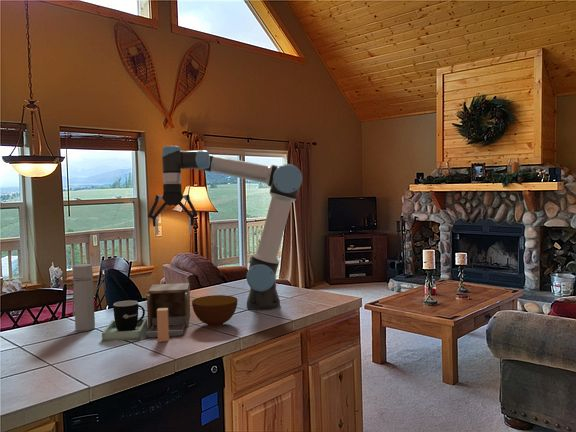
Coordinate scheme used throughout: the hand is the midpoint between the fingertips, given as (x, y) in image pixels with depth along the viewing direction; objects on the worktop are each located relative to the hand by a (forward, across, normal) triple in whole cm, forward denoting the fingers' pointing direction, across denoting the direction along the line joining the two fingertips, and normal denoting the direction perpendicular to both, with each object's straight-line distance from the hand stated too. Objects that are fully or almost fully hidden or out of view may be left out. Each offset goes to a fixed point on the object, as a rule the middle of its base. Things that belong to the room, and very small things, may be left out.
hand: (173, 234), depth 204 cm
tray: (+35, +16, +23) cm, 45 cm away
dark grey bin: (+34, +2, +25) cm, 43 cm away
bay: (+35, +2, +11) cm, 36 cm away
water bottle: (+35, +34, +14) cm, 51 cm away
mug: (+34, +15, +20) cm, 42 cm away
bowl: (+35, -17, +19) cm, 43 cm away
